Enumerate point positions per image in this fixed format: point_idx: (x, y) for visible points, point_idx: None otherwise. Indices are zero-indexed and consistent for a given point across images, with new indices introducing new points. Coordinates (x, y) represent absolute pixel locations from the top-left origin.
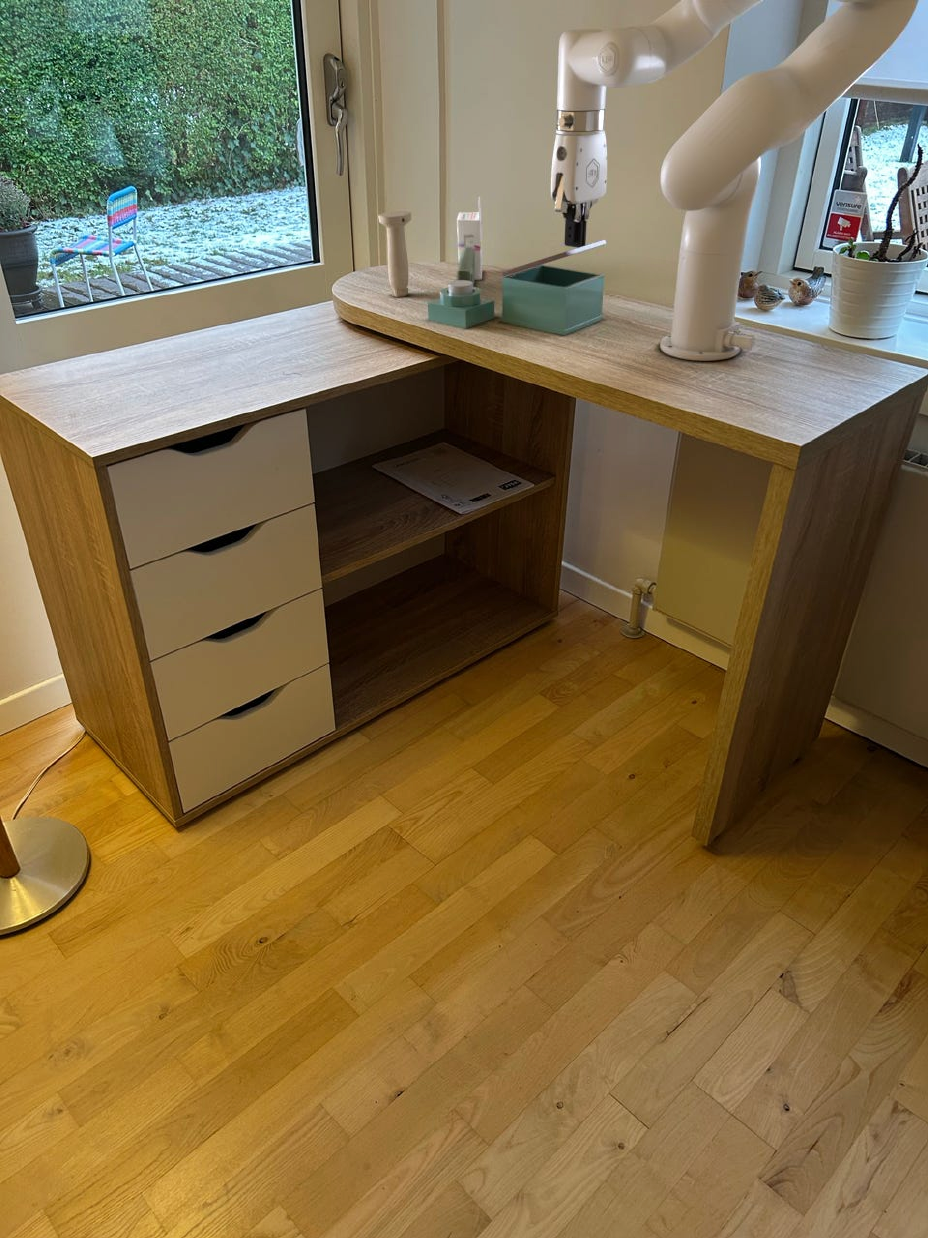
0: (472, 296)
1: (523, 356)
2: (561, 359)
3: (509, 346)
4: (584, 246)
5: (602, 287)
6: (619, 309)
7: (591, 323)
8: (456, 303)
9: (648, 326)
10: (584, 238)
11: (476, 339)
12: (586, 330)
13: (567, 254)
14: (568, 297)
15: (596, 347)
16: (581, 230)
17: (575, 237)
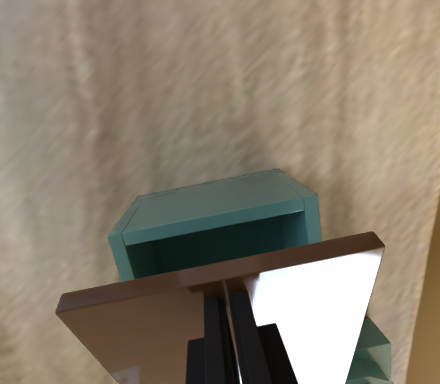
0: (368, 373)
1: (434, 121)
2: (405, 49)
3: (401, 188)
4: (236, 272)
5: (124, 220)
6: (48, 228)
7: (178, 188)
8: (386, 374)
9: (85, 85)
10: (215, 315)
11: (405, 259)
12: (218, 162)
13: (371, 236)
14: (293, 188)
15: (293, 55)
16: (254, 343)
17: (268, 332)
